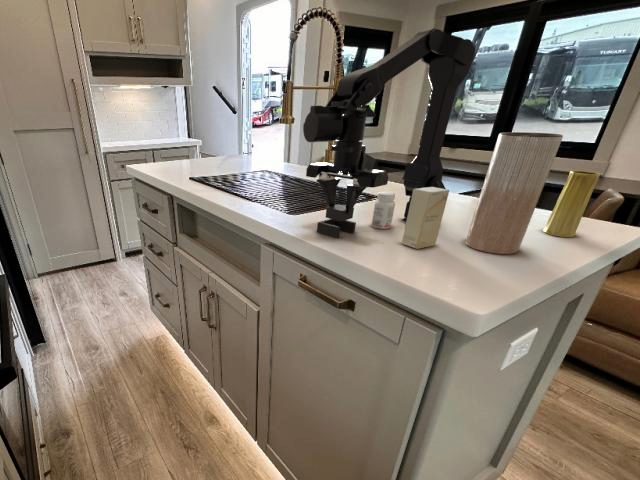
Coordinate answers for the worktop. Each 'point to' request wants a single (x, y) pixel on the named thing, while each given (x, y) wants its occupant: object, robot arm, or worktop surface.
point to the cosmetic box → (424, 217)
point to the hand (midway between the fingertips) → (339, 211)
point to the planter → (511, 190)
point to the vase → (571, 204)
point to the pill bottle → (383, 210)
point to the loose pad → (338, 213)
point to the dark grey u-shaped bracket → (335, 227)
